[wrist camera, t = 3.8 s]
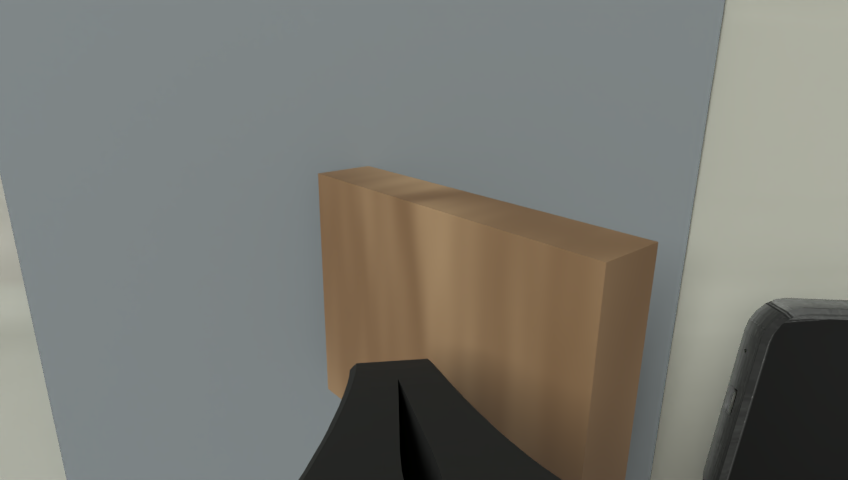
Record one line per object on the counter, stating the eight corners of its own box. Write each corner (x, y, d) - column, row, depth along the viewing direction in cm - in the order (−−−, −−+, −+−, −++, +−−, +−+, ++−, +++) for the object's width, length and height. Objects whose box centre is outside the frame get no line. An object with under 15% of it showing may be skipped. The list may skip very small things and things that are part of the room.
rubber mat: (84, 528, 18) (79, 538, 18) (-40, -58, 13) (-51, -60, 13) (643, 474, 20) (649, 483, 20) (720, -34, 15) (730, -36, 15)
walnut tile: (328, 389, 16) (570, 578, 11) (317, 173, 14) (606, 262, 9) (372, 370, 17) (617, 536, 12) (368, 166, 15) (658, 241, 10)
